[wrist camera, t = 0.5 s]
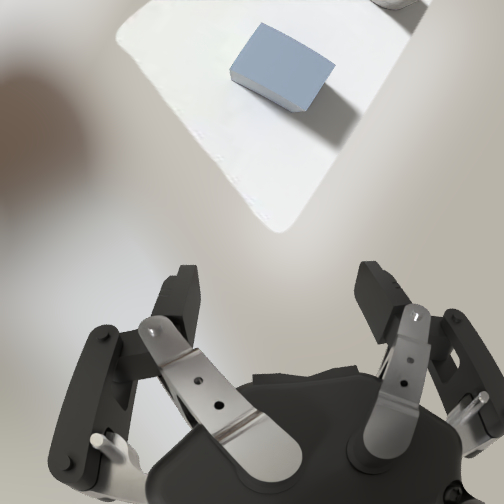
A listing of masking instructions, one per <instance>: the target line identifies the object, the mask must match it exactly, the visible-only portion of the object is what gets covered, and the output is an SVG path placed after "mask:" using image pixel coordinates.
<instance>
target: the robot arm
mask: <svg viewBox="0 0 504 504" xmlns="http://www.w3.org/2000/svg"><path fill="white" fill-rule="evenodd" d="M371 1H373V2H374V3H376V4H377V5H379V6H382V7H384V8H387V9H392V10H398V9H401V8H404V7H406V6H408V5H410V4H412V3H415V2H417V1H419V0H371ZM200 295H201V294H200V286H199V278H198V270H197V266H196V265H181V266H180V268H179V271H178V274H177V276H169V277H168V278H167V279H166V280H165V281H164V283H163V285H162V287H161V291H160V293H159V297H158V298H157V301H156V303H155V306H154V309H153V311H152V314H151V317H148V318H146V319H145V320H143V321H142V322H141V323H140V325H139V327H138V329H136V330H132V331H127V332H122V333H119V331H118V329H117V328H116V327H115V326H113V325H101V326H99V327H97V328H95V329H94V330H93V331H92V332H91V333H90V334H89V337H88V339H87V341H86V344H85V346H84V348H83V351H82V353H81V356H80V358H79V361H78V363H77V366H76V368H75V371H74V374H73V376H72V379H71V382H70V384H69V387H68V390H67V393H66V396H65V399H64V402H63V405H62V408H61V412H60V415H59V418H58V422H57V425H56V428H55V432H54V435H53V440H52V443H51V447H50V451H49V456H48V467H49V470H50V472H51V474H52V475H53V476H54V477H55V478H56V479H57V480H59V481H60V482H62V483H64V484H66V485H68V486H70V487H71V488H72V489H74V490H76V491H78V492H80V493H83V494H85V495H87V496H89V497H92V498H97V499H99V500H101V501H105V502H112V501H115V500H119V501H124V502H128V503H133V504H485V503H484V502H482V501H480V500H478V499H476V498H474V497H473V496H471V495H470V494H469V493H468V492H467V491H466V490H465V489H464V487H463V484H462V481H461V460H462V457H466V458H473V457H475V456H476V455H477V454H479V453H480V452H482V451H483V450H484V449H486V448H487V447H488V446H490V445H491V444H493V443H494V442H495V441H497V440H498V439H499V438H500V437H502V436H503V435H504V377H503V375H502V373H501V371H500V370H499V368H498V366H497V364H496V363H495V361H494V359H493V357H492V356H491V354H490V353H489V351H488V349H487V348H486V346H485V344H484V343H483V341H482V339H481V338H480V336H479V335H478V333H477V332H476V331H475V329H474V327H473V326H472V325H471V323H470V321H469V320H468V319H467V317H466V316H465V315H464V314H463V313H462V312H461V311H459V310H456V309H448V310H446V311H445V313H444V315H443V317H436V316H431V315H430V313H429V311H428V310H427V309H426V308H424V307H423V306H421V305H418V304H413V303H412V302H411V301H410V300H409V298H408V297H407V295H406V294H405V292H404V291H403V289H402V288H401V287H400V285H399V284H398V283H397V281H396V280H395V279H394V277H393V276H392V275H391V274H389V273H388V272H387V271H385V270H382V268H381V267H380V265H379V264H378V263H377V262H376V261H363V262H361V264H360V266H359V270H358V275H357V279H356V283H355V289H354V295H355V298H356V301H357V303H358V305H359V307H360V309H361V310H362V313H363V315H364V317H365V319H366V320H367V323H368V325H369V327H370V329H371V331H372V333H373V335H374V337H375V339H376V341H377V343H378V344H384V343H387V344H388V347H387V349H386V351H385V354H384V357H383V360H382V362H381V365H380V368H379V370H378V373H377V375H376V376H373V375H370V374H366V373H360V372H359V371H358V369H357V366H356V365H354V366H348V367H340V368H333V369H330V370H327V371H324V372H322V373H319V374H315V375H313V376H309V377H304V376H295V375H288V374H281V373H278V374H277V373H276V374H253V382H251V383H247V384H244V385H242V386H239V387H237V388H235V387H234V386H233V385H232V384H231V383H230V382H229V381H228V380H227V379H226V378H225V377H224V376H223V375H222V374H221V373H220V372H219V371H218V369H217V368H216V367H215V366H214V365H213V364H212V362H210V360H209V359H208V358H207V357H206V356H205V355H204V353H203V352H202V351H201V350H200V349H199V348H195V349H193V343H194V338H195V331H196V326H197V320H198V314H199V308H200V301H201V296H200ZM453 349H455V351H456V353H457V355H458V357H459V359H460V366H459V368H457V366H456V365H455V363H454V361H453V359H452V357H451V355H450V354H451V352H452V350H453ZM427 368H428V370H429V372H430V375H431V377H432V379H433V381H434V384H435V386H436V389H437V391H438V393H439V396H440V398H441V400H442V403H443V406H444V408H445V411H446V413H447V422H446V421H444V420H442V419H441V418H439V417H438V416H436V415H435V414H433V413H431V412H430V411H428V410H427V409H425V408H424V407H422V406H421V405H419V402H420V398H421V394H422V390H423V386H424V382H425V377H426V372H427ZM156 376H157V378H158V379H159V381H160V383H161V384H162V386H163V387H164V389H165V390H166V392H167V393H168V395H169V396H170V398H171V399H172V401H173V402H174V404H175V405H176V407H177V408H178V410H179V412H180V413H181V415H182V416H183V418H184V419H185V421H186V422H187V424H188V425H189V426H190V428H191V429H192V430H191V431H190V432H189V433H188V434H187V435H186V436H185V437H184V438H183V439H182V440H181V441H180V442H179V443H178V444H177V445H175V446H174V447H173V448H172V449H171V450H170V451H169V452H168V453H167V454H166V455H165V456H164V457H162V458H161V459H160V460H159V461H158V462H157V463H156V464H155V465H154V466H153V467H152V469H151V470H150V471H149V473H148V474H146V473H143V472H142V470H141V468H140V464H139V456H138V454H137V452H136V451H135V450H134V449H133V448H132V447H131V446H130V445H129V444H128V443H127V441H128V434H129V428H130V421H131V416H132V410H133V404H134V399H135V394H136V389H137V384H138V380H140V379H146V378H151V377H156Z"/></svg>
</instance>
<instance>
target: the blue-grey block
mask: <svg viewBox="0 0 504 504" xmlns="http://www.w3.org/2000/svg"><path fill="white" fill-rule="evenodd" d="M335 66H336V65H335V64H334V63H332V62H331V61H329V60H328V59H326V58H324V57H323V56H321V55H320V54H318V53H317V52H315V51H313V50H312V49H310V48H308V47H307V46H305V45H303V44H302V43H300V42H298V41H296V40H295V39H293V38H291V37H289V36H287V35H285V34H284V33H282V32H280V31H278V30H276V29H274V28H272V27H270V26H268V25H266V24H264V23H261V24H260V25H259V27H258V28H257V29H256V31H255V32H254V34H253V35H252V36H251V38H250V39H249V41H248V42H247V43H246V45H245V46H244V48H243V49H242V51H241V52H240V54H239V55H238V57H237V58H236V60H235V61H234V63H233V64H232V66H231V68H230V75H231V80H232V81H234V82H236V83H238V84H241V85H243V86H245V87H246V88H248V89H250V90H252V91H254V92H256V93H258V94H260V95H262V96H264V97H265V98H267V99H269V100H271V101H273V102H274V103H276V104H278V105H280V106H282V107H283V108H285V109H287V110H288V111H290V112H301V111H307V109H308V107H309V106H310V104H311V103H312V101H313V100H314V98H315V96H316V95H317V93H318V92H319V90H320V89H321V87H322V86H323V84H324V82H325V81H326V79H327V78H328V76H329V75H330V73H331V72H332V70H333V69H334V67H335Z"/></svg>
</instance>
